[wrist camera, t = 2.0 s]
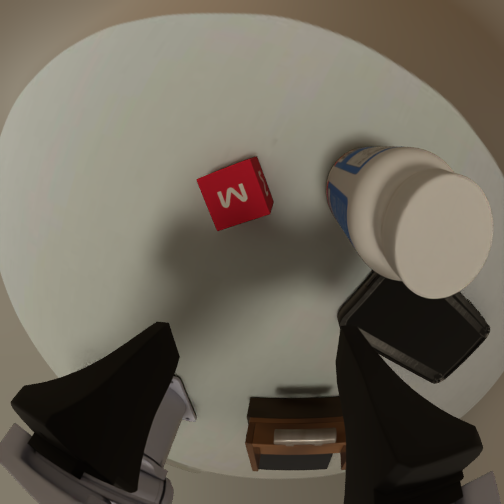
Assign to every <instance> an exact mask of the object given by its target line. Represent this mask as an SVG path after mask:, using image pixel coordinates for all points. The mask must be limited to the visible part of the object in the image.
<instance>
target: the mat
mask: <svg viewBox="0 0 504 504" xmlns="http://www.w3.org/2000/svg"><path fill="white" fill-rule="evenodd" d="M246 436H247V434H246ZM332 454H333V453H328V454H309V455H275V454H261V456H260V463H259V469H265V470H318V469H327V467H328V465H329V462H330V460H331V457H332Z"/></svg>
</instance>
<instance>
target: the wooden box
mask: <svg viewBox="0 0 504 504" xmlns="http://www.w3.org/2000/svg"><path fill="white" fill-rule="evenodd" d="M245 444H246V448H247V452H248V456H249V459H250V463H251V467H252V470H253V471H258V469H259V463H260V456H261V454H275V455H309V454H328V453H340V454H341V470H346V435H345V426H344V420H343V416H341V417H327V418H302V419H277V418H252V417H250V420H249V425H248V431H247V436H246V441H245Z"/></svg>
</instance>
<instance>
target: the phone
mask: <svg viewBox="0 0 504 504" xmlns="http://www.w3.org/2000/svg"><path fill="white" fill-rule="evenodd" d="M475 309H476V308H475V307H474V306H473V305H472V304H470V303H469V302H468V301H467V300H466V299H465V298H464V297H463V295H462V294H461V293H460V292H457V293H455V294H453V295H451V296H448V297H445V298H439V299H430V298H425V297H421V296H419V295H417V294H415V293H414V292H412V291H411V290H410V289H409V288H408V287H407V286H406V285H405V284H404V283H403V282H402V281H397V280H392V279H389V278H386V277H384V276H382V275H380V274H378V273H376V272H375V271H374V272H373V273H372V274H371V275H370V276H369V278H368V279H367V280H366V281H365V282H364V283H363V285H362V286H361V287H360V288H359V289H358V290H357V291H356V293H355V294H354V295H353V296H352V297H351V298H350V299H349V300H348V301H347V303H346V304H345V305H344V306H343V307H342V308H341V310H340V311H339V313H338V322H339V326H340V328H341V326H346V325H356V326H357V327H358V328H359V330H360V331H361V332H362V334H363V335H364V336H365V338H366V339H367V340H368V342H369V343H370V344H371V346H372V347H373V348H374V349H375V351H376V352H377V353H378V354H380V355H382V356H383V357H385V358H387V359H389V360H391V361H393V362H394V363H396V364H398V365H400V366H402V367H403V368H405V369H407V370H409V371H411V372H413V373H415V374H416V375H418V376H420V377H422V378H424V379H426V380H428V381H429V382H431V383H434V384H435V383H439V382H441V381H443V380H445V379H446V378H447V377H448V376H449V375H450V374H451V373H453V372H454V371H455V370H456V369H457V368H458V367H459V366H460V365H461V364H462V363H463V362H464V361H465V360H466V359H467V358H468V357H469V356H470V355H471V354H472V353H473V352H474V351H475V350H476V349H477V348H478V347H479V346H480V345H481V344H482V343H483V341H484V340H485V339H486V338H487V336H488V335H489V332H490V327H489V325H488V324H487V323H486V321H485V319H484V318H483V317H481V316H480V315H481V314H480V313H479V312H478V311H477V309H476V310H475Z"/></svg>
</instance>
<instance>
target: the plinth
mask: <svg viewBox="0 0 504 504" xmlns="http://www.w3.org/2000/svg"><path fill="white" fill-rule="evenodd" d="M341 416H343V414H342V408H341V402H340V397H324V398H250V403H249V408H248V413H247V420H248V425H249V420H250V417H252V418H277V419H302V418H327V417H341Z"/></svg>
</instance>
